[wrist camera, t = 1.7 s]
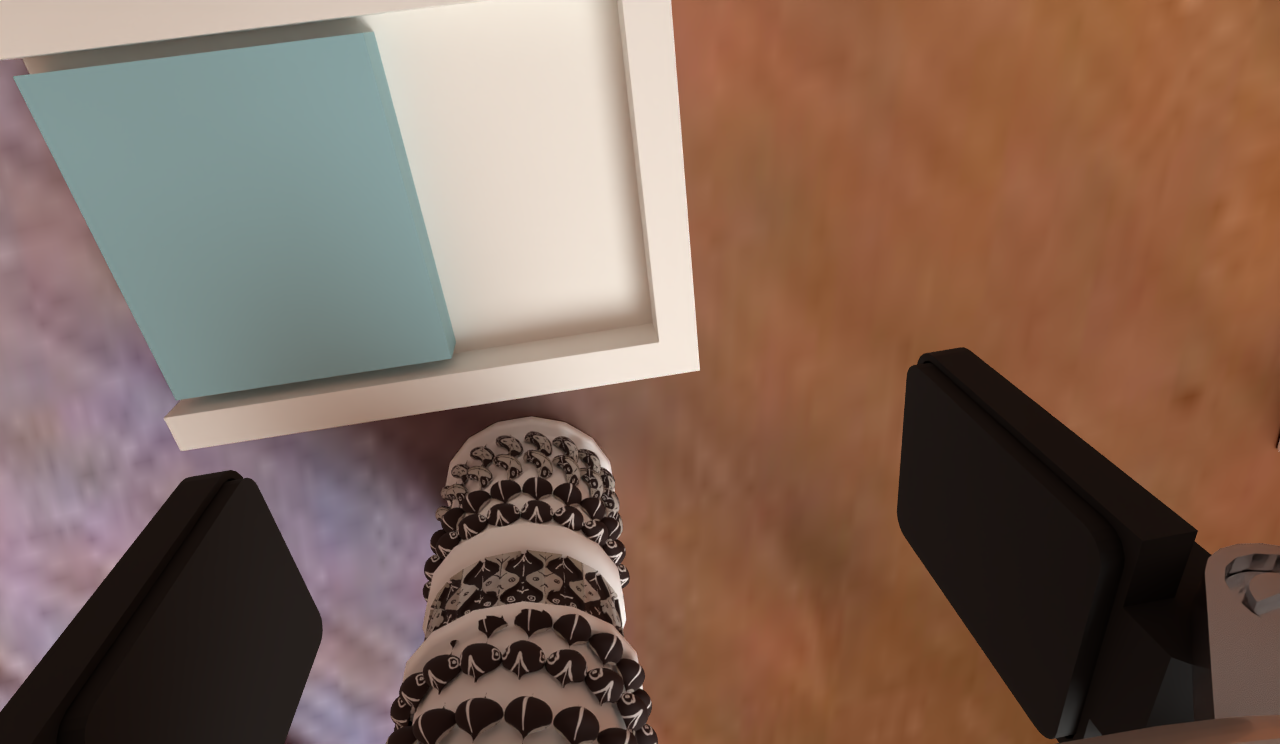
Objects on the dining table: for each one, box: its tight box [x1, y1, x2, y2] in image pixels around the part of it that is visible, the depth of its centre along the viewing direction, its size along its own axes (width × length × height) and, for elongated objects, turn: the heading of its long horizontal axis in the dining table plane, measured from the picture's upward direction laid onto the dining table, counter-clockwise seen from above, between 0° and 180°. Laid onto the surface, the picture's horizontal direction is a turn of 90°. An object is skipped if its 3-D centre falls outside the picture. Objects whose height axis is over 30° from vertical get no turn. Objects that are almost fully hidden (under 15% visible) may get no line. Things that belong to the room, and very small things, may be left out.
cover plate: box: [13, 32, 456, 400], centre depth 25 cm, size 12×11×2 cm
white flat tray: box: [0, 0, 700, 451], centre depth 26 cm, size 16×22×3 cm
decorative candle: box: [386, 416, 658, 744], centre depth 24 cm, size 9×9×25 cm
